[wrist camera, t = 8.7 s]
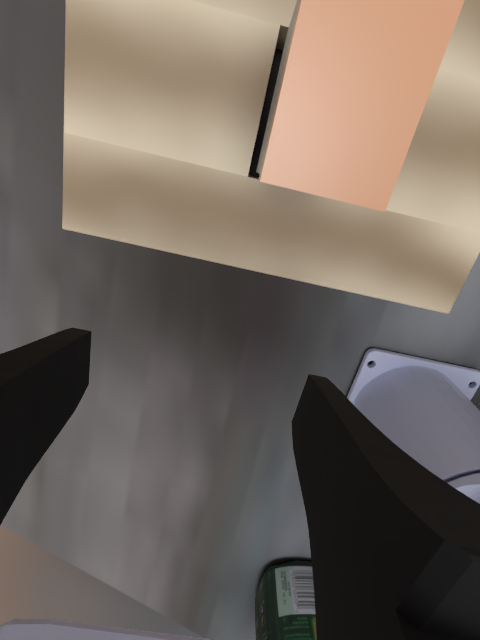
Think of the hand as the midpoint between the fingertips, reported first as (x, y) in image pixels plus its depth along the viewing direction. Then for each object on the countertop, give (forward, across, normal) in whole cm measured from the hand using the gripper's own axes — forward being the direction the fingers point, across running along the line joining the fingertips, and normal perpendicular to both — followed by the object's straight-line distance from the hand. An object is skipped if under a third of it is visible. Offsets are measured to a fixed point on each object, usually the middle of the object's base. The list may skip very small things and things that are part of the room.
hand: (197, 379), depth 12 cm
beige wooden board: (+10, -2, -9) cm, 14 cm away
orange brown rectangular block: (+7, -2, -9) cm, 12 cm away
